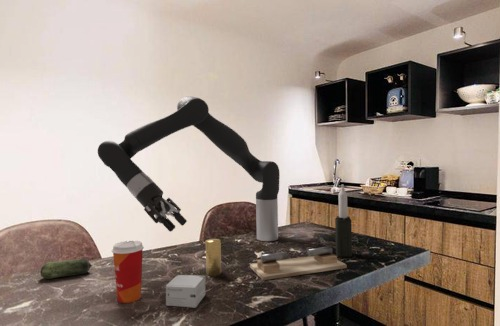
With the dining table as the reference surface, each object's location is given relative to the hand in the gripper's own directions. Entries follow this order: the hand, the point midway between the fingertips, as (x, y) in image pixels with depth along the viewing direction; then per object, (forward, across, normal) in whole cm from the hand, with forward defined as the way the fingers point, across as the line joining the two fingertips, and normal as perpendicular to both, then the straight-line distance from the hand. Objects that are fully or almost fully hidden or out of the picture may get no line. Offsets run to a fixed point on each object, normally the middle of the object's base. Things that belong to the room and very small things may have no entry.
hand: (179, 226), depth 102 cm
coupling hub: (+18, 0, +2) cm, 18 cm away
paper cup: (+7, -21, +13) cm, 26 cm away
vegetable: (-13, -9, +34) cm, 38 cm away
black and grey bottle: (+46, +24, -26) cm, 59 cm away
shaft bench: (+36, +9, -16) cm, 40 cm away
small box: (+17, -19, +3) cm, 26 cm away
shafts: (+33, +9, -18) cm, 39 cm away
